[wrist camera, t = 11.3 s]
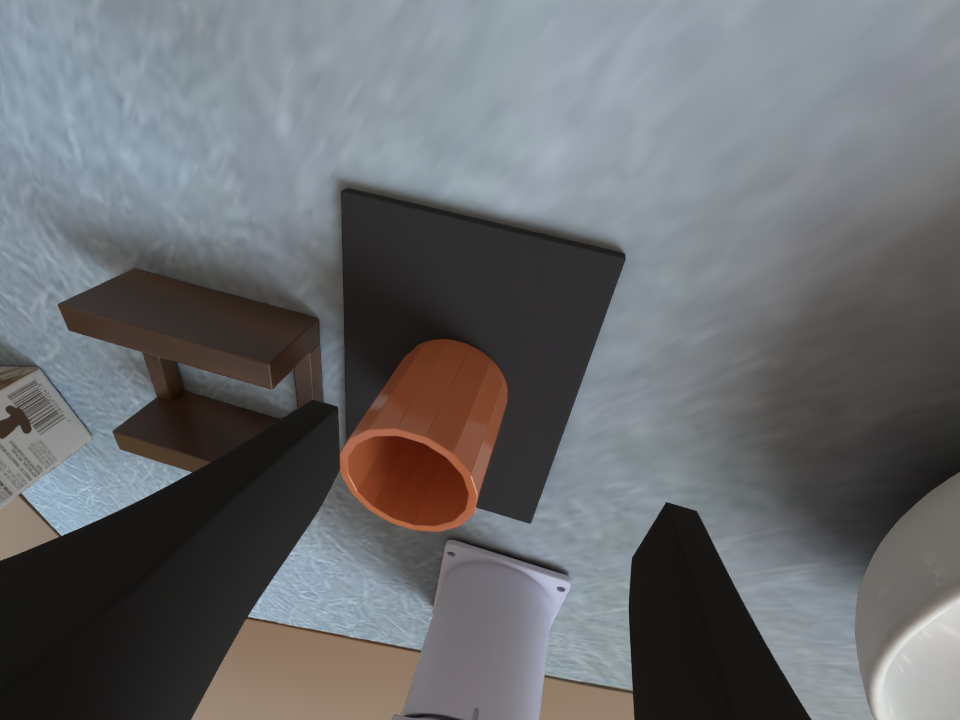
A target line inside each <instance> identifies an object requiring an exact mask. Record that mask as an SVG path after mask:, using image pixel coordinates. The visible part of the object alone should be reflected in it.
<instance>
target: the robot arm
mask: <svg viewBox="0 0 960 720" xmlns="http://www.w3.org/2000/svg"><path fill="white" fill-rule="evenodd" d="M339 470H340V450H339V422H338V407H337V406H333V405H330V404H326V403H323V402H320V401H316V400H311V401H309V402H307V403H306V404H304V405H302V406H301V407H299V408H298V409H296V410H294V411H293V412H291V413H290V414H288V415H287V416H285V417H283V418H282V419H280V420H279V421H277V422H276V423H274V424H272V425H271V426H269V427H268V428H266V429H265V430H263V431H261V432H260V433H258V434H257V435H255V436H253V437H252V438H250V439H249V440H247V441H245V442H244V443H242V444H240V445H239V446H237V447H235V448H234V449H232V450H230V451H229V452H227V453H225V454H224V455H222V456H220V457H219V458H217V459H215V460H214V461H212V462H210V463H209V464H207V465H205V466H203V467H201V468H200V469H198V470H196V471H194V472H192V473H191V474H189V475H187V476H185V477H183V478H182V479H180V480H178V481H176V482H174V483H172V484H171V485H169V486H167V487H165V488H163V489H161V490H159V491H157V492H156V493H154V494H152V495H150V496H148V497H146V498H144V499H142V500H140V501H138V502H136V503H134V504H132V505H130V506H128V507H125V508H123V509H121V510H119V511H117V512H115V513H113V514H111V515H109V516H107V517H104V518H102V519H100V520H98V521H96V522H93V523H91V524H89V525H86V526H84V527H82V528H80V529H77V530H75V531H72V532H70V533H68V534H65V535H63V536H61V537H58V538H56V539H53V540H51V541H49V542H46V543H44V544H41V545H39V546H37V547H34V548H32V549H29V550H27V551H25V552H22V553H20V554H17V555H15V556H12V557H9V558H7V559H4V560H1V561H0V720H191V719H192V717H193V715H194V713H195V711H196V709H197V707H198V705H199V704H200V702H201V700H202V698H203V696H204V694H205V692H206V690H207V688H208V687H209V685H210V683H211V681H212V679H213V677H214V675H215V674H216V672H217V670H218V668H219V666H220V664H221V663H222V661H223V659H224V657H225V655H226V654H227V652H228V650H229V648H230V646H231V645H232V643H233V641H234V639H235V638H236V636H237V634H238V632H239V630H240V629H241V627H242V625H243V623H244V621H245V620H246V618H247V617H248V615H249V614H250V612H251V610H252V609H253V607H254V606H255V604H256V602H257V601H258V599H259V598H260V596H261V595H262V593H263V592H264V591H265V589H266V588H267V586H268V585H269V583H270V582H271V580H272V579H273V577H274V576H275V574H276V573H277V571H278V570H279V568H280V567H281V566H282V564H283V563H284V561H285V560H286V558H287V557H288V555H289V554H290V552H291V551H292V549H293V548H294V546H295V545H296V544H297V542H298V541H299V539H300V538H301V536H302V535H303V533H304V532H305V530H306V529H307V527H308V526H309V524H310V523H311V521H312V520H313V518H314V517H315V515H316V514H317V512H318V511H319V509H320V507H321V505H322V503H323V501H324V500H325V498H326V496H327V494H328V492H329V490H330V488H331V486H332V484H333V482H334V480H335V478H336V476H337V474H338V472H339ZM571 582H572V580H571V578H570V577H569V576H567V575H564V574H561V573H558V572H555V571H552V570H548V569H545V568H542V567H539V566H536V565H532V564H529V563H526V562H523V561H520V560H517V559H513V558H510V557H507V556H504V555H501V554H497V553H494V552H491V551H488V550H485V549H482V548H478V547H475V546H472V545H469V544H466V543H462V542H459V541H456V540H448V541H447V542H446V544H445V548H444V553H443V559H442V564H441V569H440V575H439V580H438V585H437V591H436V596H435V601H434V606H433V612H432V614H433V616H432V619H431V623H430V626H429V629H428V632H427V635H426V638H425V641H424V644H423V647H422V650H421V654H420V657H419V660H418V663H417V666H416V669H415V672H414V676H413V678H412V682H411V684H410V688H409V691H408V694H407V697H406V700H405V703H404V706H403V709H402V712H401V715H397V714H394V715H393V718H392V720H539V717H540V708H541V699H542V691H543V682H544V674H545V665H546V657H547V648H548V639H549V631H550V627H551V625H552V623H553V621H554V619H555V617H556V615H557V613H558V611H559V609H560V607H561V605H562V603H563V601H564V599H565V598H566V596H567V594H568V592H569V590H570V588H571ZM629 625H630V645H631V664H632V682H633V699H634V718H635V720H811V718H810V717H809V715H808V714H807V712H806V710H805V709H804V707H803V706H802V704H801V702H800V701H799V699H798V697H797V696H796V694H795V693H794V691H793V689H792V688H791V686H790V684H789V682H788V681H787V679H786V677H785V676H784V674H783V672H782V671H781V669H780V667H779V666H778V664H777V662H776V661H775V659H774V657H773V655H772V654H771V652H770V650H769V648H768V647H767V645H766V643H765V641H764V640H763V638H762V636H761V634H760V632H759V630H758V629H757V627H756V625H755V623H754V621H753V619H752V618H751V616H750V614H749V612H748V610H747V608H746V607H745V605H744V603H743V601H742V599H741V597H740V595H739V593H738V592H737V590H736V588H735V586H734V584H733V582H732V580H731V578H730V576H729V574H728V572H727V570H726V568H725V566H724V564H723V562H722V560H721V558H720V556H719V554H718V552H717V550H716V548H715V546H714V544H713V542H712V540H711V538H710V536H709V534H708V532H707V530H706V528H705V526H704V524H703V522H702V520H701V518H700V516H699V514H698V513H697V511H695V510H691V509H688V508H684V507H681V506H678V505H674V504H671V503H667V502H666V504H665V505H664V507H663V508H662V510H661V512H660V513H659V515H658V517H657V518H656V520H655V521H654V523H653V525H652V526H651V528H650V530H649V531H648V533H647V535H646V536H645V538H644V539H643V541H642V543H641V544H640V546H639V548H638V549H637V551H636V552H635V554H634V556H633V557H632V565H631V578H630V594H629Z"/></svg>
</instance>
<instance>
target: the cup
mask: <svg viewBox="0 0 960 720" xmlns="http://www.w3.org/2000/svg"><path fill="white" fill-rule="evenodd" d="M507 402H508V388H507V384H506V381H505V378H504V376H503V374H502V372H501V370H500V369H499V367H498V366H497V365H496V364H495V363H494V361H493V360H492V359H491V358H489V357H488V356H487V355H486V354H485V353H483V352H482V351H480V350H479V349H477V348H475V347H473V346H471V345H469V344H466V343H463V342H460V341H455V340H448V339H437V340H430V341H427V342H423V343H421V344H419V345H417V346H416V347H414V348H413V349H411V350H410V351H409V352H408V353H407V355H406V356H405V357H404V358H403V360H402V361H401V363H400V364H399V366H398V367H397V368H396V370H395V371H394V373H393V374H392V376H391V377H390V379H389V380H388V382H387V383H386V385H385V386H384V388H383V389H382V391H381V392H380V393H379V395H378V396H377V398H376V399H375V401H374V402H373V404H372V405H371V407H370V408H369V410H368V411H367V413H366V414H365V415H364V417H363V418H362V420H361V421H360V423H359V424H358V426H357V427H356V429H355V430H354V432H353V433H352V435H351V436H350V438H349V439H348V441H347V442H346V444H345V445H344V447H343V449H342V450H341V452H340V473H341V475H342V477H343V479H344V481H345V483H346V485H347V487H348V489H349V491H350V492H351V493H352V494H353V495H354V496H355V497H356V498H357V499H358V500H359V501H360V502H361V503H362V504H363V505H364V506H365V507H366V508H367V509H368V510H370V511H371V512H373V513H375V514H377V515H378V516H380V517H382V518H383V519H385V520H387V521H388V522H391V523H393V524H396V525H399V526H403V527H406V528H409V529H412V530H416V531H434V532H439V531H444V530H448V529H451V528H455V527H459V526H461V525H462V524H463V523H464V522H465V521H466V520H467V519H468V518H469V517H471V516H472V515H473V514H474V512H475V509H476V505H477V502H478V499H479V496H480V492H481V489H482V486H483V483H484V479H485V476H486V473H487V469H488V466H489V463H490V460H491V456H492V453H493V450H494V447H495V443H496V440H497V437H498V433H499V430H500V427H501V424H502V420H503V417H504V413H505V409H506V406H507Z"/></svg>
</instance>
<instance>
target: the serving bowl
mask: <svg viewBox="0 0 960 720" xmlns="http://www.w3.org/2000/svg"><path fill="white" fill-rule="evenodd" d="M855 638H856V647H857V655H858V661H859V667H860V672H861V676H862V680H863V685H864V689H865V693H866V698H867V702H868V704H869V707H870V710H871V713H872V715H873V717H874V719H875V720H960V472H959V473H957V474H956V475H954V476H952V477H951V478H949V479H948V480H946V481H945V482H943V483H942V484H941V485H939V486H938V487H936V488H935V489H933V490H932V491H930V492H929V493H928V494H927V495H926V496H924V497H923V498H922V499H921V500H920V501H919V502H917V503H916V504H915V505H914V506H913V507H912V508H911V509H910V510H909V511H908V512H907V513H906V514H904V515H903V516H902V517H901V518H900V519H899V520H898V522H897V523H896V524H895V525H894V526H893V527H892V529H891V530H890V531H889V532H888V534H887V535H886V536H885V538H884V539H883V541H882V542H881V543H880V545H879V547H878V548H877V550H876V551H875V553H874V555H873V557H872V559H871V560H870V563H869V565H868V567H867V569H866V571H865V574H864V577H863V580H862V583H861V586H860V590H859V593H858V599H857V605H856V617H855Z"/></svg>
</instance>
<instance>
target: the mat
mask: <svg viewBox="0 0 960 720" xmlns="http://www.w3.org/2000/svg"><path fill="white" fill-rule="evenodd" d="M341 204H342V250H343V297H344V343H345V389H346V435H347V441H348V439H349V438H350V436H351V435H352V433H353V432H354V430H355V429H356V427H357V426H358V424H359V423H360V421H361V420H362V418H363V417H364V415H365V414H366V413H367V411H368V410H369V408H370V407H371V405H372V404H373V402H374V401H375V399H376V398H377V396H378V395H379V393H380V392H381V391H382V389H383V388H384V386H385V385H386V383H387V382H388V380H389V379H390V377H391V376H392V374H393V373H394V371H395V370H396V368H397V367H398V366H399V364H400V363H401V361H402V360H403V358H404V357H405V356H406V355H407V353H408V352H409V351H410V350H411V349H413V348H414V347H416V346H417V345H419V344H421V343H423V342H427V341H430V340H437V339H448V340H455V341H460V342H463V343H466V344H469V345H471V346H473V347H475V348H477V349H479V350H480V351H482V352H483V353H485V354H486V355H487V356H488V357H489V358H491V359H492V360H493V361H494V363H495V364H496V365H497V366H498V367H499V369H500V370H501V372H502V374H503V376H504V378H505V381H506V384H507V388H508V402H507V406H506V409H505V413H504V417H503V420H502V424H501V427H500V430H499V433H498V437H497V440H496V443H495V447H494V450H493V453H492V456H491V460H490V463H489V466H488V469H487V473H486V476H485V479H484V483H483V486H482V489H481V492H480V496H479V499H478V502H477V505H476V507H477V508H480V509H483V510H487V511H490V512H493V513H497V514H500V515H503V516H506V517H510V518H513V519H516V520H520V521H523V522H526V523H529V524H530V523H531V522H532V519H533V516H534V513H535V510H536V508H537V505H538V502H539V499H540V496H541V494H542V491H543V488H544V485H545V483H546V480H547V477H548V474H549V471H550V469H551V466H552V463H553V460H554V457H555V455H556V452H557V449H558V446H559V443H560V441H561V438H562V435H563V432H564V429H565V427H566V424H567V421H568V418H569V415H570V413H571V410H572V407H573V404H574V402H575V399H576V396H577V393H578V390H579V388H580V385H581V382H582V379H583V376H584V374H585V371H586V368H587V365H588V362H589V360H590V357H591V354H592V351H593V348H594V346H595V343H596V340H597V337H598V334H599V332H600V329H601V326H602V323H603V321H604V318H605V315H606V312H607V309H608V307H609V304H610V301H611V298H612V295H613V293H614V290H615V287H616V284H617V281H618V279H619V276H620V273H621V270H622V267H623V265H624V262H625V254H624V253H620V252H616V251H612V250H607V249H603V248H599V247H595V246H590V245H586V244H582V243H578V242H574V241H569V240H565V239H561V238H557V237H552V236H548V235H544V234H540V233H535V232H531V231H527V230H523V229H518V228H514V227H510V226H506V225H502V224H497V223H493V222H489V221H485V220H480V219H476V218H472V217H468V216H463V215H459V214H455V213H451V212H447V211H442V210H438V209H434V208H430V207H425V206H421V205H417V204H413V203H408V202H404V201H400V200H396V199H391V198H387V197H383V196H379V195H375V194H370V193H366V192H362V191H358V190H353V189H349V188H346V189H344V190H342V191H341Z"/></svg>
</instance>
